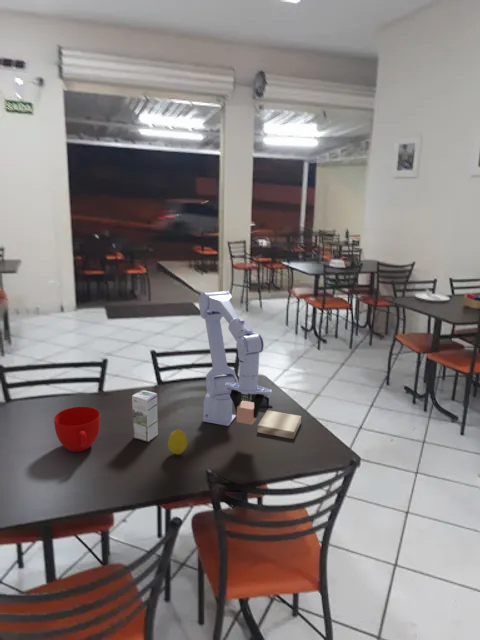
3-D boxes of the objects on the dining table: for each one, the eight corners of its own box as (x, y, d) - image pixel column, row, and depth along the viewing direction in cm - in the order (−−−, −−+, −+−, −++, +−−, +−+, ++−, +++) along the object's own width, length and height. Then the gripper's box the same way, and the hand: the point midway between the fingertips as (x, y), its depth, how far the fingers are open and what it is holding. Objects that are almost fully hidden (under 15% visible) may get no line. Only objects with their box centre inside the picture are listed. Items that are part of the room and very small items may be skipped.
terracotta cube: (236, 421, 145) (237, 406, 144) (241, 415, 150) (242, 400, 148) (252, 424, 143) (252, 409, 142) (257, 417, 148) (257, 403, 147)
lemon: (183, 460, 137) (183, 435, 135) (165, 458, 138) (165, 433, 136) (189, 451, 143) (189, 426, 140) (171, 448, 144) (171, 424, 142)
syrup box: (158, 434, 152) (158, 392, 148) (147, 442, 146) (146, 399, 143) (143, 430, 154) (142, 388, 150) (132, 438, 149) (131, 395, 145)
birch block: (257, 433, 155) (257, 425, 155) (266, 418, 166) (267, 410, 166) (293, 440, 152) (294, 431, 151) (300, 424, 163) (301, 416, 162)
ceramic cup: (61, 468, 131) (58, 436, 129) (53, 440, 146) (51, 410, 143) (108, 458, 137) (107, 426, 135) (96, 432, 152) (95, 403, 149)
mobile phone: (235, 388, 179) (269, 397, 171) (239, 385, 181) (273, 394, 173) (235, 400, 180) (269, 409, 172) (239, 397, 182) (273, 407, 174)
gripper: (221, 374, 141) (220, 416, 145) (268, 381, 137) (266, 424, 140) (229, 366, 148) (228, 406, 151) (274, 373, 143) (272, 414, 147)
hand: (247, 414), depth 146 cm, fingers closed on terracotta cube, 5 cm apart
